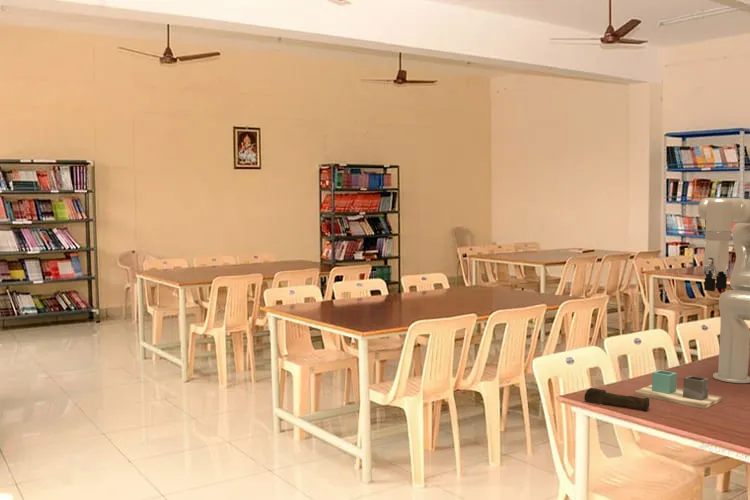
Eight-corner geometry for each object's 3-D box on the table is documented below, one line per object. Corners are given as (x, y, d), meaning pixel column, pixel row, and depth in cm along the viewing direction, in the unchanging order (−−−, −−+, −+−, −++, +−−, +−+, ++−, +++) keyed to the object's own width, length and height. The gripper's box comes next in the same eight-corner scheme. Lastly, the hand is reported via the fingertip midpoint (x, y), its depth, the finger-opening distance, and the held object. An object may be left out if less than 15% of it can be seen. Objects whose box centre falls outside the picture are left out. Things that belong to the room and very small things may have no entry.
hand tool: (650, 409, 225) (650, 394, 225) (647, 412, 222) (647, 397, 221) (587, 400, 235) (587, 385, 235) (583, 402, 231) (583, 387, 231)
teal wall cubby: (659, 388, 246) (660, 369, 246) (676, 391, 242) (677, 372, 242) (651, 390, 242) (652, 372, 242) (668, 394, 238) (669, 375, 238)
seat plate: (653, 387, 252) (654, 366, 251) (721, 400, 236) (722, 378, 236) (634, 394, 242) (635, 372, 241) (704, 408, 226) (705, 385, 226)
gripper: (716, 235, 251) (713, 286, 252) (695, 237, 238) (693, 290, 240) (739, 236, 245) (737, 288, 247) (720, 238, 233) (717, 293, 234)
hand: (715, 289), depth 243 cm, fingers open, 9 cm apart
